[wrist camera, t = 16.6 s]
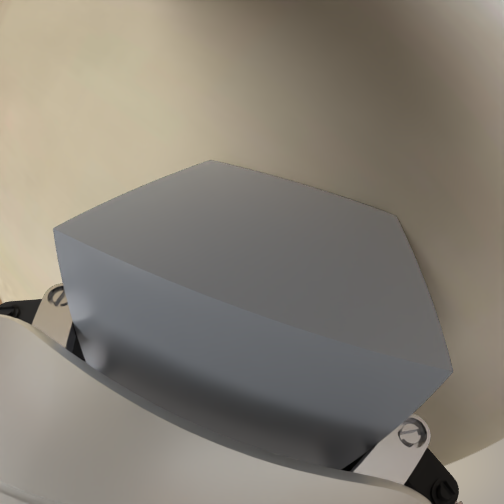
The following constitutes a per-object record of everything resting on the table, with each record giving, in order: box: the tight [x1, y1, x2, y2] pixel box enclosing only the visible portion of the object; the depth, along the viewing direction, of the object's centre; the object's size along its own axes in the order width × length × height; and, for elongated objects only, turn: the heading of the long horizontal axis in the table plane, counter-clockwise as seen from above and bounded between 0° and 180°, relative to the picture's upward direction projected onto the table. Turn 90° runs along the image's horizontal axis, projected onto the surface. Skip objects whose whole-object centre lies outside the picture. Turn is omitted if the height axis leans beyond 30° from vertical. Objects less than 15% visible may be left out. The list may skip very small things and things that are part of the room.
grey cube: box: [53, 160, 453, 470], centre depth 9 cm, size 8×8×8 cm
